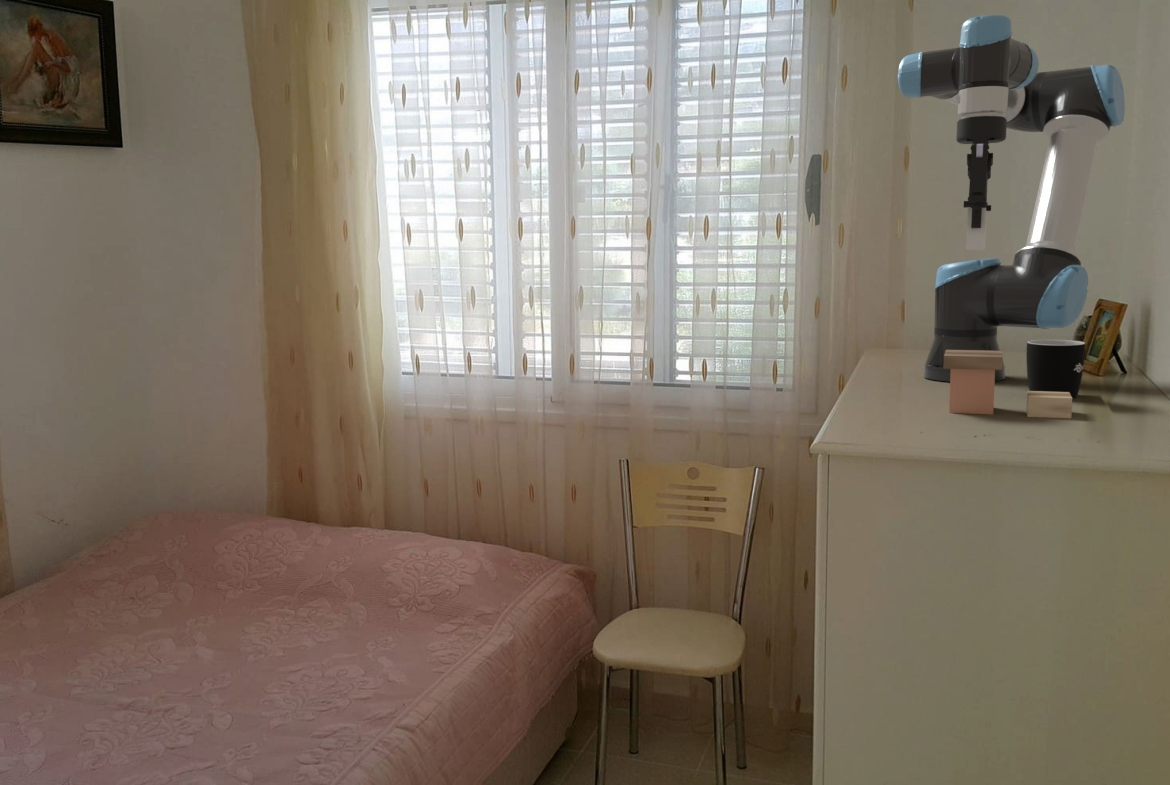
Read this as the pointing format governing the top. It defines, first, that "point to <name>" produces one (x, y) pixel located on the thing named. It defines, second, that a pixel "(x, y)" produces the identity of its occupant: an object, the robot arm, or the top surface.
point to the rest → (1049, 404)
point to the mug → (1055, 365)
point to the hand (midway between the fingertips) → (975, 250)
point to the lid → (973, 359)
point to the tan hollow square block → (972, 391)
